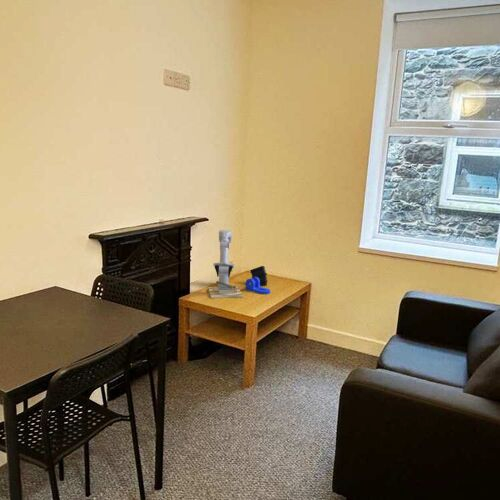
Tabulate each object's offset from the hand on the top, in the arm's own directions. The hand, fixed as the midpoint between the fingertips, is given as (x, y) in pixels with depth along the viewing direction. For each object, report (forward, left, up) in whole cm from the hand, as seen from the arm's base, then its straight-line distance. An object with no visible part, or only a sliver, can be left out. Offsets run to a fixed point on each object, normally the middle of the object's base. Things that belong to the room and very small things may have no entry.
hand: (223, 276), depth 310 cm
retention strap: (-2, +2, -7) cm, 8 cm away
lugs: (-2, +1, -12) cm, 12 cm away
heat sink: (-2, +2, -12) cm, 12 cm away
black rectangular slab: (-22, +30, -13) cm, 39 cm away
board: (-2, +2, -13) cm, 13 cm away
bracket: (-6, +27, -13) cm, 31 cm away
